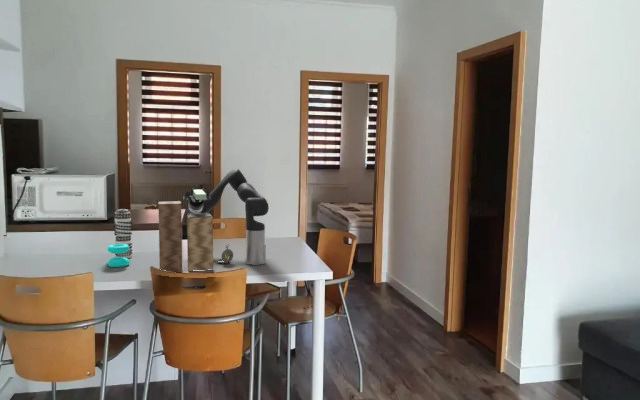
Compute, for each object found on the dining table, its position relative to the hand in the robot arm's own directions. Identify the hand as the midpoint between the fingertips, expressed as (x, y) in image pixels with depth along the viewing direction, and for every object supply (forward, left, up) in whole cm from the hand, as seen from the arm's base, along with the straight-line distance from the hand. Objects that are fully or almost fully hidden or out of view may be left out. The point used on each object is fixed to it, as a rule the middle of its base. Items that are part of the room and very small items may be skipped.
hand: (198, 190), depth 244 cm
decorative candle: (+37, -27, -37) cm, 59 cm away
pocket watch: (-12, +1, -37) cm, 39 cm away
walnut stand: (+14, +8, -37) cm, 40 cm away
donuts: (+38, -7, -37) cm, 53 cm away
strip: (0, +7, -3) cm, 8 cm away
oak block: (0, +9, -37) cm, 38 cm away
